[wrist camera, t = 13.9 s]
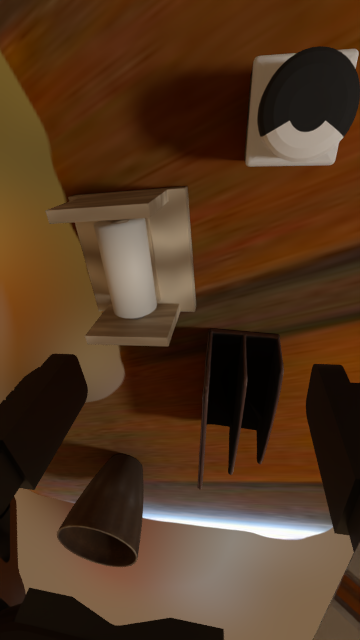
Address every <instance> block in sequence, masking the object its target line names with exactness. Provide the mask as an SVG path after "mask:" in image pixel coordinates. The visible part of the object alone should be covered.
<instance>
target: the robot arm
mask: <svg viewBox="0 0 360 640" xmlns="http://www.w3.org/2000/svg"><path fill="white" fill-rule="evenodd" d="M87 393H88V389H87V384H86V381H85V378H84V375H83V372H82V369H81V367H80V364H79V361H78V359H77V357H76V356H75V355H73V354H52V355H51V356H50V357H49V358H48V359H47V360H46V361H45V362H44V363H43V365H42V366H41V367H38V368H37V369H35V370H34V371H32V372H31V373H29V374H28V375H27V376H25V377H24V378H23V379H22V380H21V381H20V382H19V384H18V385H17V386H16V387H15V389H14V391H12V392H11V393H10V394H9V395H8V396H7V397H6V400H3V401H2V403H1V404H0V640H224V632H223V629H221V628H216V627H212V626H207V625H202V624H197V623H192V622H188V621H183V620H178V619H174V618H166V619H160V620H154V621H148V622H141V623H134V624H128V625H122V626H115V625H112V624H110V623H109V622H107V621H106V620H105V619H103V618H102V617H100V616H99V615H97V614H96V613H95V612H93V611H91V610H90V609H89V608H87V607H86V606H85V605H83V604H82V603H80V602H79V601H77V600H76V599H75V598H73V597H70V596H66V595H61V594H56V593H51V592H47V591H42V590H38V589H33V588H29V590H28V592H27V594H25V589H24V585H23V582H22V579H21V576H20V574H19V569H18V558H17V557H18V555H17V554H18V553H17V514H16V513H17V510H16V500H15V497H14V495H15V494H16V492H17V491H18V489H19V488H24V489H32V490H34V489H35V488H36V486H37V484H38V483H39V481H40V479H41V477H42V476H43V474H44V472H45V470H46V469H47V467H48V465H49V464H50V462H51V460H52V458H53V457H54V455H55V453H56V452H57V450H58V448H59V446H60V445H61V443H62V441H63V440H64V438H65V436H66V434H67V433H68V431H69V429H70V427H71V426H72V424H73V422H74V421H75V419H76V417H77V415H78V414H79V412H80V410H81V409H82V407H83V405H84V403H85V401H86V398H87ZM306 414H307V420H308V424H309V428H310V432H311V437H312V441H313V445H314V449H315V453H316V457H317V462H318V466H319V470H320V474H321V478H322V482H323V486H324V491H325V495H326V499H327V503H328V507H329V511H330V516H331V520H332V524H333V528H334V532H335V533H337V534H344V535H350V539H351V543H352V547H353V550H354V554H353V556H352V558H351V560H350V562H349V564H348V566H347V569H346V571H345V573H344V575H343V577H342V579H341V581H340V583H339V585H338V587H337V589H336V592H335V594H334V596H333V598H332V600H331V602H330V604H329V606H328V608H327V610H326V613H325V615H324V617H323V619H322V621H321V623H320V625H319V627H318V630H317V631H316V634H315V636H314V638H313V640H360V383H350V381H349V379H348V377H347V374H346V372H345V370H344V368H343V366H341V365H329V364H314V365H313V367H312V372H311V377H310V383H309V388H308V393H307V399H306Z"/></svg>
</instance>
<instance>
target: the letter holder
mask: <svg viewBox="0 0 360 640" xmlns="http://www.w3.org/2000/svg"><path fill="white" fill-rule="evenodd" d="M283 372H284V369H283V360H282V353H281V345H280V339H279V335H278V334H266V333H256V332H245V331H234V330H224V329H209V331H208V341H207V351H206V359H205V377H204V387H203V396H202V421H201V438H200V453H199V472H198V488H199V489H201V488H202V481H203V469H204V455H205V439H206V425H207V424H216V425H222V426H229V427H230V432H229V468H228V473H229V474H230V475H232V473H233V469H234V464H235V459H236V453H237V448H238V442H239V436H240V430H241V428H246V429H252V430H257V462H258V463H259V464H261V463H262V461H263V458H264V455H265V451H266V448H267V444H268V441H269V437H270V433H271V429H272V425H273V421H274V417H275V413H276V408H277V404H278V400H279V395H280V390H281V385H282V379H283Z"/></svg>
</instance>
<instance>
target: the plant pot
mask: <svg viewBox="0 0 360 640" xmlns="http://www.w3.org/2000/svg"><path fill="white" fill-rule="evenodd" d="M142 514H143V469H142V465H141V463H140V462H139V461H138V460H136V459H135V458H133V457H131V456H128V455H124V454H118V455H114V456H113V457H112V458H111V459H110V460H109V461H108V462H107V463H106V464H105V465H104V466H103V467H102V468H101V470H100V471H99V472H98V473H97V474H96V476H95V477H94V478H93V479H92V481H91V482H90V483H89V485H88V486H87V487H86V489H85V490H84V491H83V493H82V494H81V496H80V497H79V499H78V500H77V501H76V503H75V504H74V506H73V507H72V509H71V511H70V512H69V514H68V515H67V517H66V519H65V520H64V522H63V524H62V526H61V527H60V528H59V530H58V532H57V538H58V540H59V541H60V543H61V544H62V545H63V546H64V547H65V548H66V549H68V550H69V551H71V552H72V553H74V554H76V555H78V556H80V557H82V558H84V559H86V560H89V561H91V562H95V563H98V564H102V565H106V566H113V567H126V566H131V565H133V564H134V563H135V562H136V561H137V557H138V550H139V543H140V534H141V527H142Z"/></svg>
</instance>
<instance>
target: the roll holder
mask: <svg viewBox="0 0 360 640" xmlns="http://www.w3.org/2000/svg"><path fill="white" fill-rule="evenodd" d="M68 199H69V202H67V203H64V204H62V205H59V206H56V207H54V208H51V209H49V210H46V214H47V217H48V220H49V223H50V224H54V223H71V222H75V225H76V229H77V232H78V236H79V240H80V243H81V247H82V251H83V254H84V258H85V262H86V265H87V269H88V273H89V277H90V280H91V284H92V287H93V291H94V295H95V299H96V302H97V306H98V310H99V311H104V312H103V313H102V315H101V316H100V317H99V319H98V320H97V321H96V322H95V324H94V325H93V326H92V328H91V329H90V330H89V332H88V333H87V334H86V335H85V337H86V340H87V344H101V345H135V346H169V343H170V340H171V337H172V334H173V331H174V328H175V325H176V322H177V319H178V317H179V314H180V311H195V308H196V298H195V284H194V271H193V257H192V244H191V230H190V216H189V203H188V189H187V186H184V187H171V188H159V189H146V190H134V191H121V192H109V193H96V194H83V195H73V196H70V197H68ZM138 218H145V222H146V229H147V236H148V243H149V250H150V257H151V265H152V272H153V279H154V286H155V293H156V301H157V307H156V309H155V310H154V311H153V312H152V313H150V314H148V315H146V316H143V317H139V318H121V317H119V316H117V315H115V313H114V310H113V306H112V302H111V297H110V293H109V289H108V284H107V280H106V276H105V271H104V267H103V263H102V258H101V254H100V250H99V245H98V241H97V237H96V232H95V228H94V224H95V223H96V222H98V221H104V220H121V219H138Z"/></svg>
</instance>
